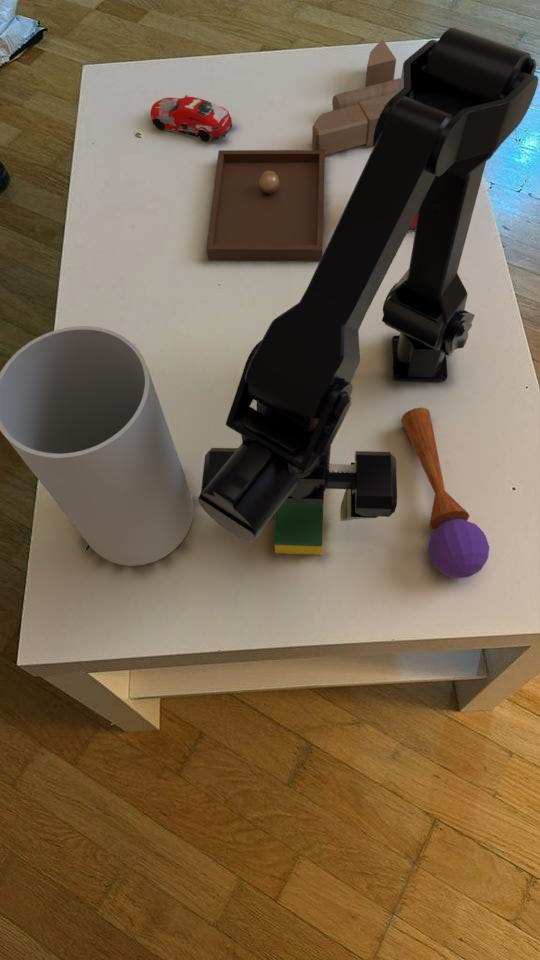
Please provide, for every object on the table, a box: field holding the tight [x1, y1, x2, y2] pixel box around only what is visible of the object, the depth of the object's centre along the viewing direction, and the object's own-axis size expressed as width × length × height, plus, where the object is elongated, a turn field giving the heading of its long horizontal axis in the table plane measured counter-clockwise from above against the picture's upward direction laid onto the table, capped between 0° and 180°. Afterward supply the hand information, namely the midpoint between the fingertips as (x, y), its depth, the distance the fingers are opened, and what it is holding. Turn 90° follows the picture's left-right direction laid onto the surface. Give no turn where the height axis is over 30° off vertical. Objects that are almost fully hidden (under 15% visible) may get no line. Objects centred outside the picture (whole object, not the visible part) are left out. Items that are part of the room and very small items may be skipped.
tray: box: [205, 149, 326, 262], centre depth 96 cm, size 20×16×2 cm
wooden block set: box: [311, 38, 401, 156], centre depth 103 cm, size 17×6×18 cm
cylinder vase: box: [0, 325, 194, 567], centre depth 65 cm, size 12×12×25 cm
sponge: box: [273, 502, 324, 556], centre depth 73 cm, size 8×5×4 cm, turn 177°
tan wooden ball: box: [259, 171, 280, 194], centre depth 96 cm, size 3×3×3 cm
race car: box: [150, 94, 233, 143], centre depth 104 cm, size 13×5×4 cm, turn 65°
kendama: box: [400, 407, 490, 579], centre depth 73 cm, size 6×6×20 cm
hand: (299, 515), depth 74 cm, fingers open, 9 cm apart
